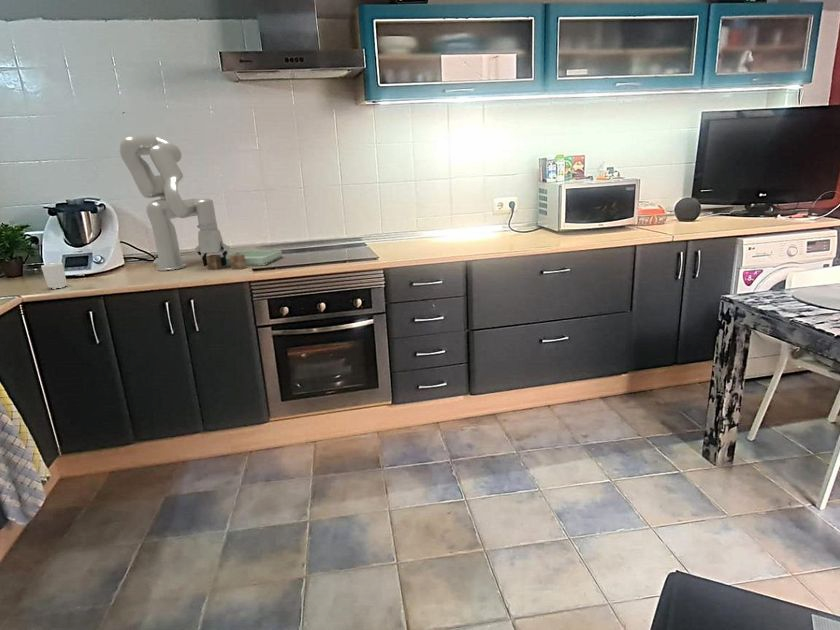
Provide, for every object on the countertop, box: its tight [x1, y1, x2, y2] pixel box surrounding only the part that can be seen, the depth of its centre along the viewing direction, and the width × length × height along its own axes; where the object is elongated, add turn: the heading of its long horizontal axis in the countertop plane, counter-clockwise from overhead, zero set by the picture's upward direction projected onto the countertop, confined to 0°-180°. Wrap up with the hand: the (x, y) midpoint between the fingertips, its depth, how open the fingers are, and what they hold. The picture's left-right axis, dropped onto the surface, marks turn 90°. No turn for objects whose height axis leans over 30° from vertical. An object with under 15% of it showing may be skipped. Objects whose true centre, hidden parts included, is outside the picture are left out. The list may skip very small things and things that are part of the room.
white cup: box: [40, 262, 68, 288], centre depth 240 cm, size 8×8×10 cm
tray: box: [223, 250, 283, 267], centre depth 269 cm, size 24×18×4 cm
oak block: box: [230, 254, 247, 271], centre depth 256 cm, size 4×4×6 cm
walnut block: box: [206, 254, 224, 271], centre depth 259 cm, size 4×4×6 cm
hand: (215, 265), depth 259 cm, fingers open, 8 cm apart
